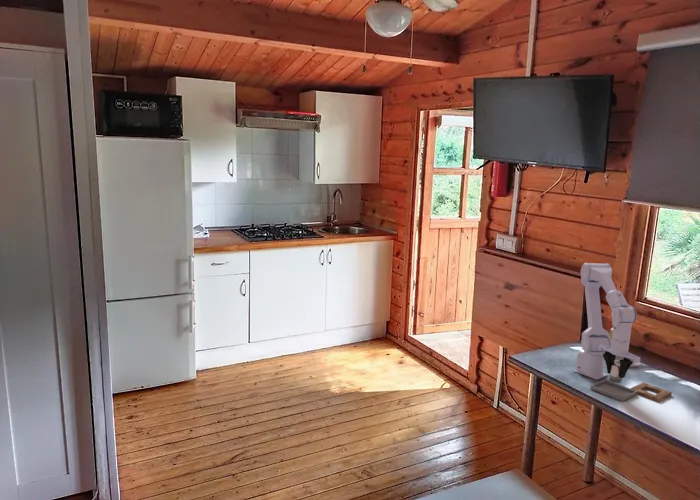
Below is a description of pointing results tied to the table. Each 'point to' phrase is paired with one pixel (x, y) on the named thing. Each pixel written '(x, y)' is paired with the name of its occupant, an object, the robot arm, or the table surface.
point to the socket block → (658, 397)
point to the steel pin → (615, 373)
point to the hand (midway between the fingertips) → (615, 375)
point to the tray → (614, 390)
